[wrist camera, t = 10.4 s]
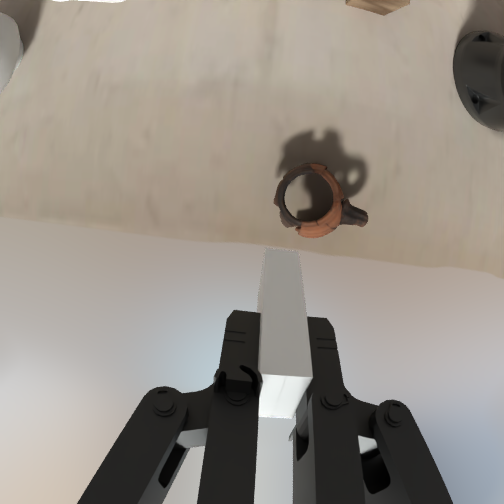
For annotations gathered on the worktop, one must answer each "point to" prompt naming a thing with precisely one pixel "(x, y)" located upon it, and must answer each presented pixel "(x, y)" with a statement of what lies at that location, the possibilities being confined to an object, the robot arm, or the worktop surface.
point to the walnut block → (378, 5)
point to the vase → (9, 49)
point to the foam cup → (97, 0)
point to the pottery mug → (336, 215)
